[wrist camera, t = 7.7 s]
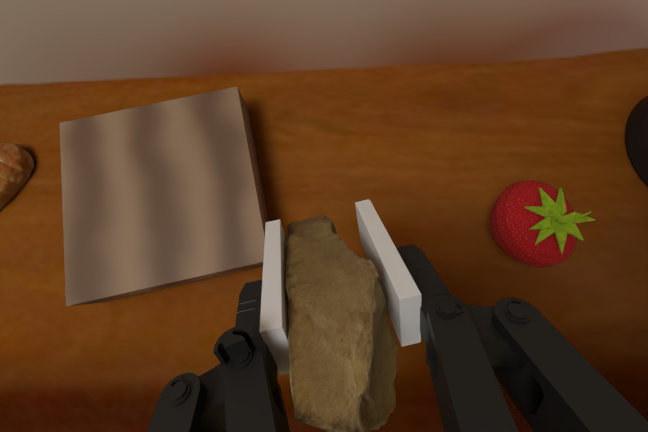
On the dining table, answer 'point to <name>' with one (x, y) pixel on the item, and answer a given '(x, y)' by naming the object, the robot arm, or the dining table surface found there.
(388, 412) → the rock
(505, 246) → the strawberry
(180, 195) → the walnut base
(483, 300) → the dining table surface
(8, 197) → the pastry
